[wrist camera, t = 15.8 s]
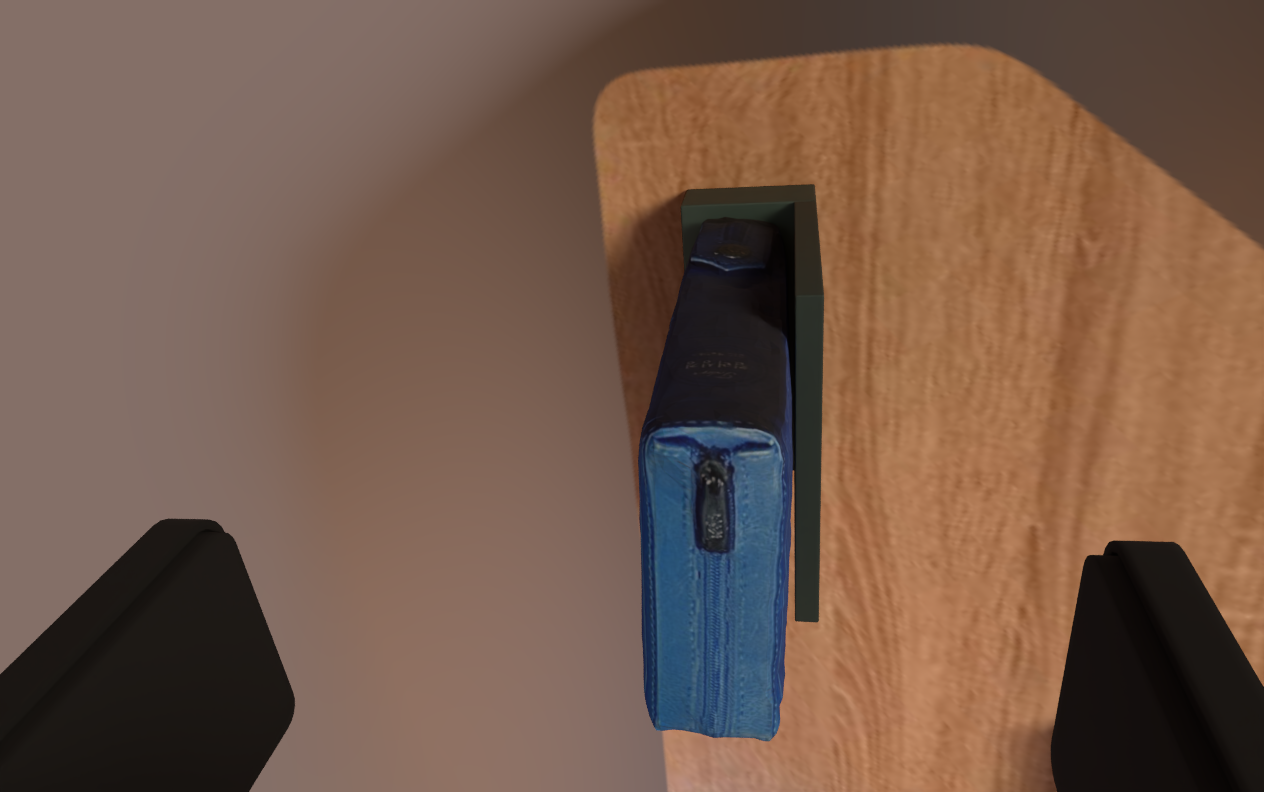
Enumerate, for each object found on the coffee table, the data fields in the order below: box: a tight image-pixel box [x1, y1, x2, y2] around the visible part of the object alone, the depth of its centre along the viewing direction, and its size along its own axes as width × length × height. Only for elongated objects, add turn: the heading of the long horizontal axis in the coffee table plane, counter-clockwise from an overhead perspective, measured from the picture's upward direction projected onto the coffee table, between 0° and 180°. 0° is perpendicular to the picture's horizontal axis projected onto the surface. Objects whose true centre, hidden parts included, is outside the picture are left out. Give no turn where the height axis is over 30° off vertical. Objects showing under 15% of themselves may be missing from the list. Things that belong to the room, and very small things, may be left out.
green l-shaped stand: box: [681, 184, 824, 622], centre depth 42 cm, size 6×15×15 cm, turn 5°
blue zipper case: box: [638, 217, 793, 741], centre depth 37 cm, size 14×5×20 cm, turn 2°
